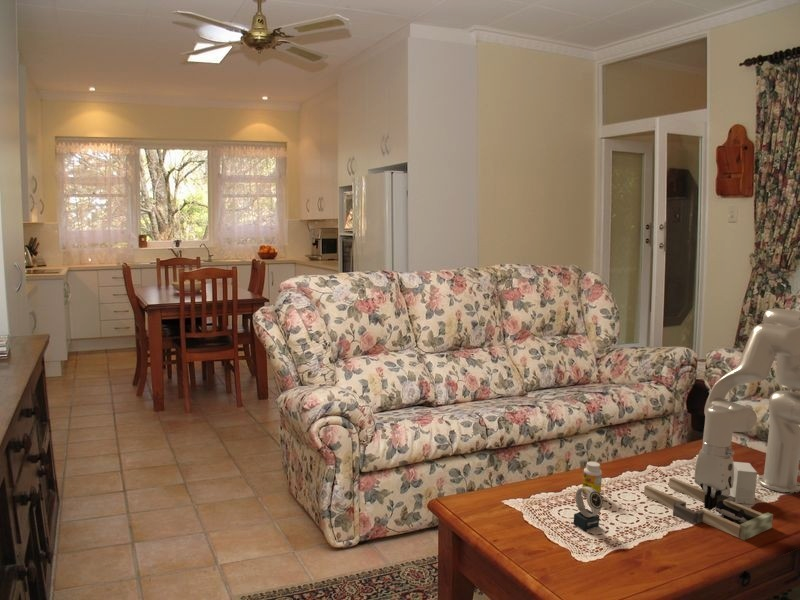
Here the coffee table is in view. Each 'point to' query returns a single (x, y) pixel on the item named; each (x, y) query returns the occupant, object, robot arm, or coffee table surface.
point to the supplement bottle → (592, 477)
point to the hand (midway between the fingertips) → (709, 507)
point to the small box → (744, 483)
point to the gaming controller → (732, 513)
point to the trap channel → (680, 510)
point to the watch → (586, 517)
